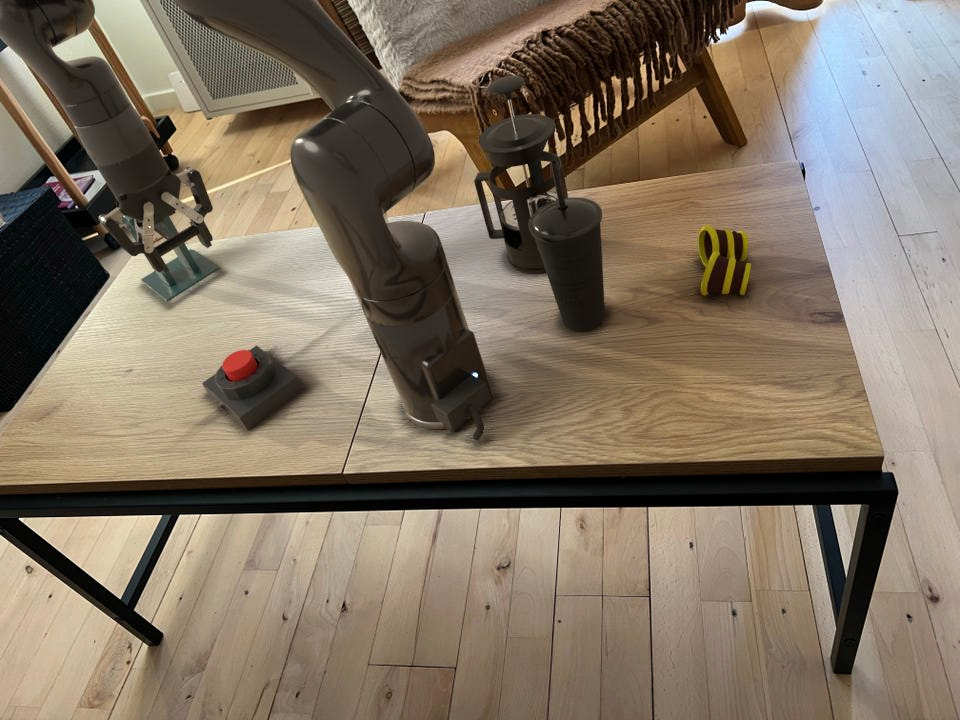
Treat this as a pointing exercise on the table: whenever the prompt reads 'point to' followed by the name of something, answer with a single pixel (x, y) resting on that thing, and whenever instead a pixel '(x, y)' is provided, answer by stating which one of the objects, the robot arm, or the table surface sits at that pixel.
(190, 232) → the lever
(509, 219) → the french press
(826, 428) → the table surface
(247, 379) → the button box
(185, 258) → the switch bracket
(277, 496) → the table surface
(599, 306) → the drinking cup
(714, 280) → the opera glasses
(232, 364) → the button
